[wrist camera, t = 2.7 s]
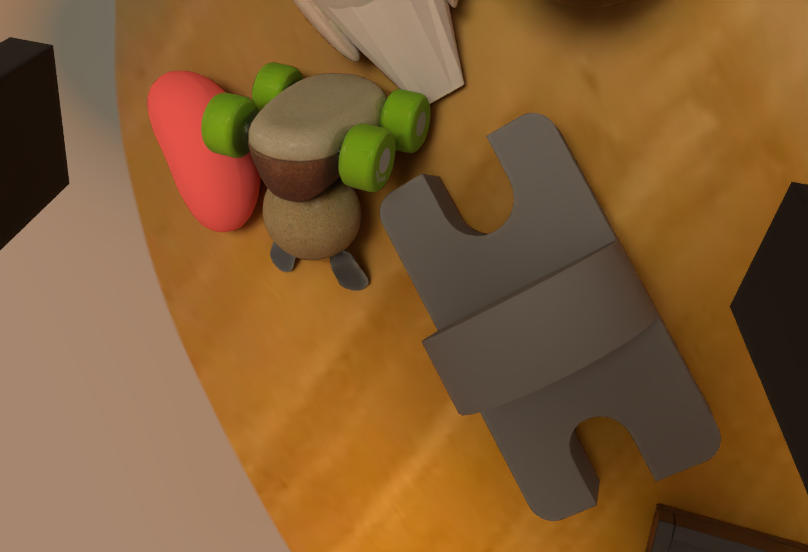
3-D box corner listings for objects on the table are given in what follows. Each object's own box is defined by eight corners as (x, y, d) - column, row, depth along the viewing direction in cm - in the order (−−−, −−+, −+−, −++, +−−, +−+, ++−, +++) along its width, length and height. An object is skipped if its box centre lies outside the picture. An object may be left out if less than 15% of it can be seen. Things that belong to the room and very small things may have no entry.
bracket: (550, 112, 39) (521, 76, 28) (721, 429, 38) (756, 511, 27) (393, 203, 41) (314, 201, 31) (547, 501, 40) (520, 600, 30)
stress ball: (131, 213, 38) (259, 218, 39) (141, 45, 40) (263, 55, 41) (146, 235, 43) (259, 239, 44) (154, 86, 45) (262, 93, 46)
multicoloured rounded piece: (283, 50, 41) (293, 222, 48) (185, 108, 35) (211, 298, 41) (439, 81, 39) (426, 259, 45) (363, 152, 32) (361, 348, 39)
